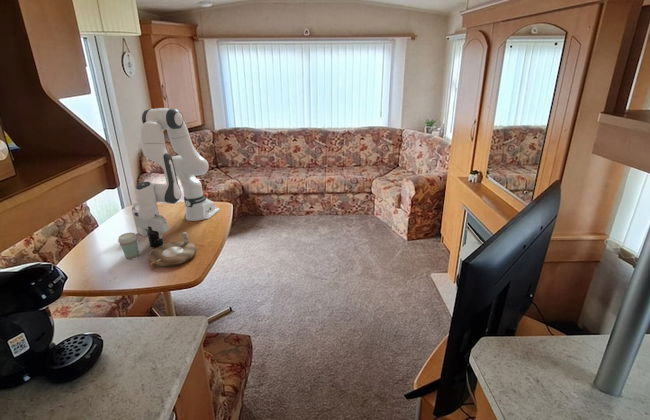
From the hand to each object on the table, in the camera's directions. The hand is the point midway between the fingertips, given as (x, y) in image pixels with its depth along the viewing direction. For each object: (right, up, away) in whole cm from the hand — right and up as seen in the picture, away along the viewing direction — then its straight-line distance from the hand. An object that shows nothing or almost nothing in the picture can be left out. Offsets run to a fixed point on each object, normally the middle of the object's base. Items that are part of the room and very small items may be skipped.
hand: (154, 236), depth 194 cm
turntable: (+14, -8, -10) cm, 19 cm away
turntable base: (+13, -10, -12) cm, 21 cm away
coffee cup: (-7, -10, -9) cm, 15 cm away
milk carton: (-13, +1, +16) cm, 21 cm away
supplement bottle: (0, -5, +2) cm, 5 cm away
